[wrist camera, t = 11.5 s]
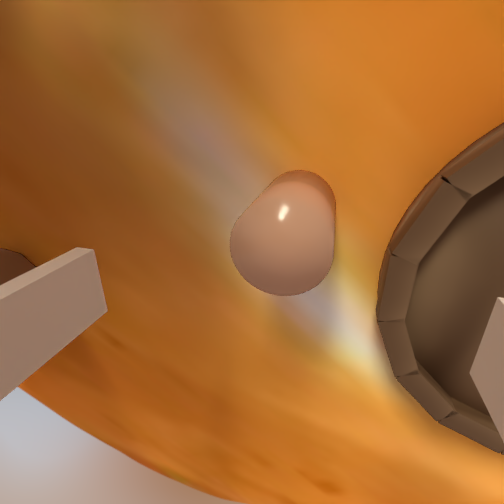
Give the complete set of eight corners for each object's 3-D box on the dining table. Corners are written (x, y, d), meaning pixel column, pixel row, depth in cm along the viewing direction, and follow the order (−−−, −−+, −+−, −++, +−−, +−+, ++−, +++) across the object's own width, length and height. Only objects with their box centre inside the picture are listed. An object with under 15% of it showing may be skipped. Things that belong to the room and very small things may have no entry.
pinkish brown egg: (262, 237, 21) (231, 289, 15) (263, 168, 19) (228, 196, 13) (331, 243, 20) (328, 302, 14) (339, 171, 18) (339, 203, 12)
